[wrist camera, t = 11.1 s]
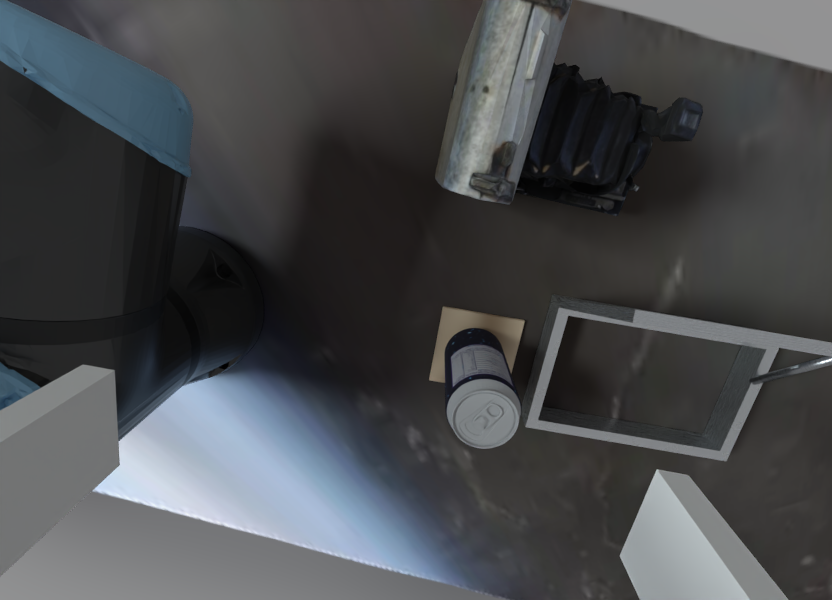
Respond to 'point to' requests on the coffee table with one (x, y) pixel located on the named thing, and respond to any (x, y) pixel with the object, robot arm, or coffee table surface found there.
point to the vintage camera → (545, 117)
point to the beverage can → (480, 390)
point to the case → (748, 363)
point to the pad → (463, 319)
